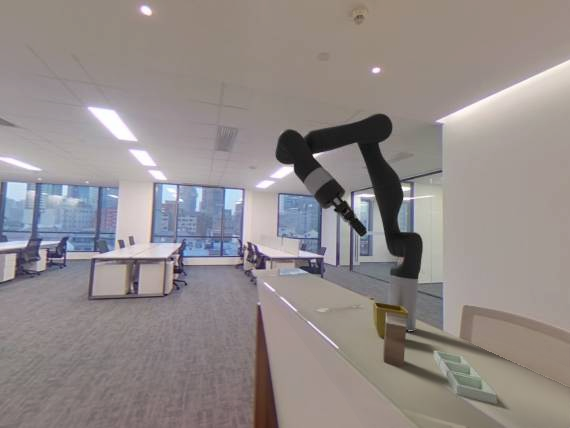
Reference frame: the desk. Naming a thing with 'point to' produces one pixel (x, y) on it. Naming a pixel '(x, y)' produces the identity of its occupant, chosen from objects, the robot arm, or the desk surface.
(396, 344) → the brown wooden block
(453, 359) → the tray
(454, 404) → the desk surface
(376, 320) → the flower pot
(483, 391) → the tray
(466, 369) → the tray
